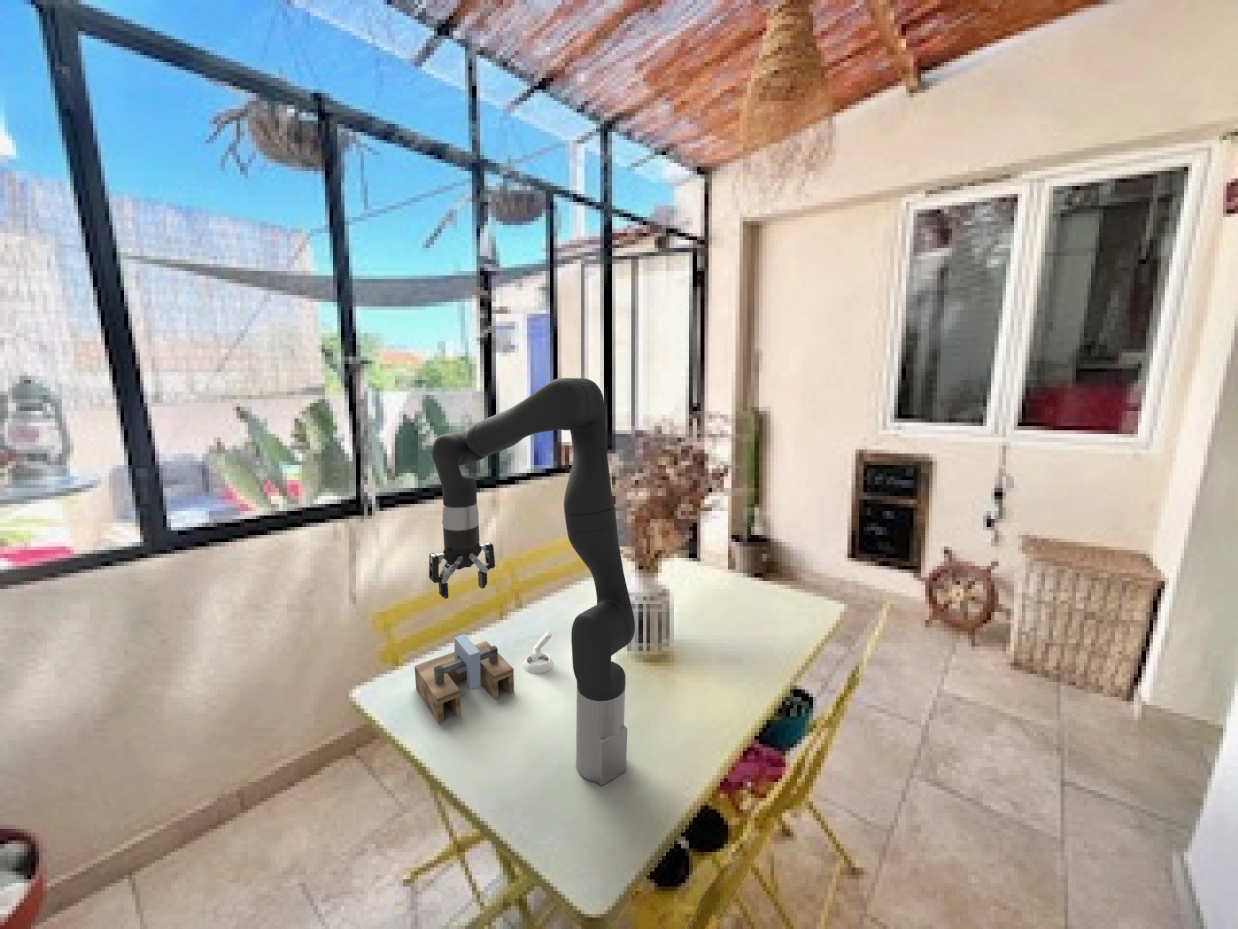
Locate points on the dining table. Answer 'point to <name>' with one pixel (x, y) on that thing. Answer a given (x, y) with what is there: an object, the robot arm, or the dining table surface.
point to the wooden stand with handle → (460, 678)
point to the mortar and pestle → (538, 654)
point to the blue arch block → (468, 660)
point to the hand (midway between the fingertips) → (464, 592)
